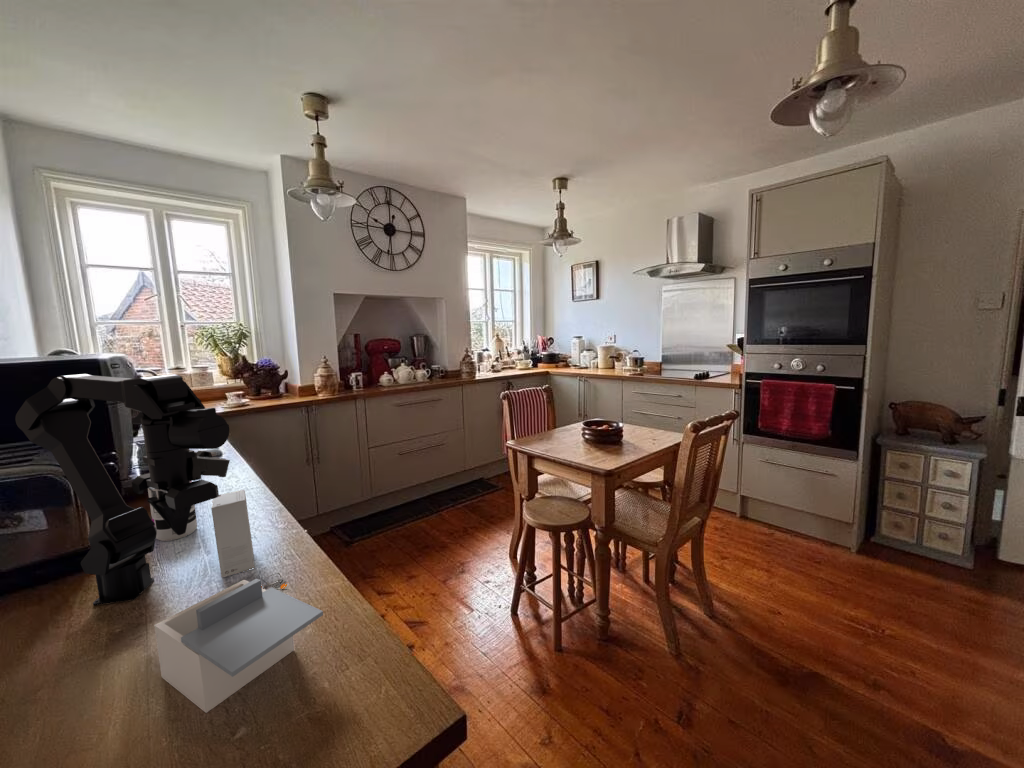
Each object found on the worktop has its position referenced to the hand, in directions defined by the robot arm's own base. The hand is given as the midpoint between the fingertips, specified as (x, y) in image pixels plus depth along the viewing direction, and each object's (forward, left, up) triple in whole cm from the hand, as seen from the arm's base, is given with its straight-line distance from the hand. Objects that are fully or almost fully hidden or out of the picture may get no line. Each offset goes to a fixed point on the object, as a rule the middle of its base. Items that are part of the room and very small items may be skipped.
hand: (181, 533), depth 74 cm
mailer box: (+13, -18, -13) cm, 26 cm away
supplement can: (-16, +31, -13) cm, 38 cm away
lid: (+19, -23, -5) cm, 30 cm away
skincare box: (+4, +11, -13) cm, 18 cm away
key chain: (+14, -1, -14) cm, 19 cm away
